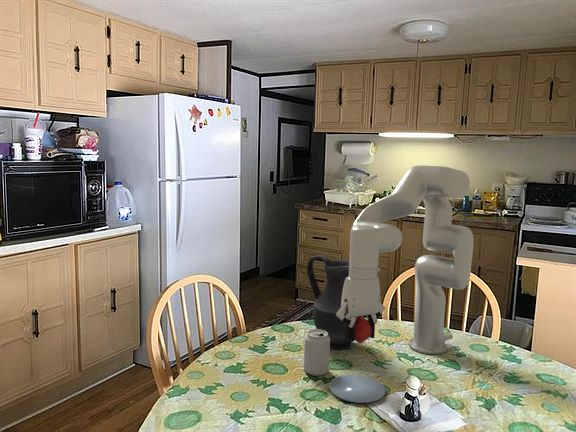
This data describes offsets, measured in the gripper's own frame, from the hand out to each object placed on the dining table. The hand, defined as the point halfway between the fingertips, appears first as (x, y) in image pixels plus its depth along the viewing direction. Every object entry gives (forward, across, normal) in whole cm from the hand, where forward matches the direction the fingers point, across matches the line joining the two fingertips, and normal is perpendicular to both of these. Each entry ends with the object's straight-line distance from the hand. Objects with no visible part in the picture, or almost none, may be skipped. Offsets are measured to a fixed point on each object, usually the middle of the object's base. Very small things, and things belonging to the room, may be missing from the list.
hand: (359, 337), depth 129 cm
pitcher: (+15, -12, -31) cm, 37 cm away
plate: (+15, 0, 0) cm, 15 cm away
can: (+15, +4, -15) cm, 22 cm away
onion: (+2, 0, 0) cm, 2 cm away
